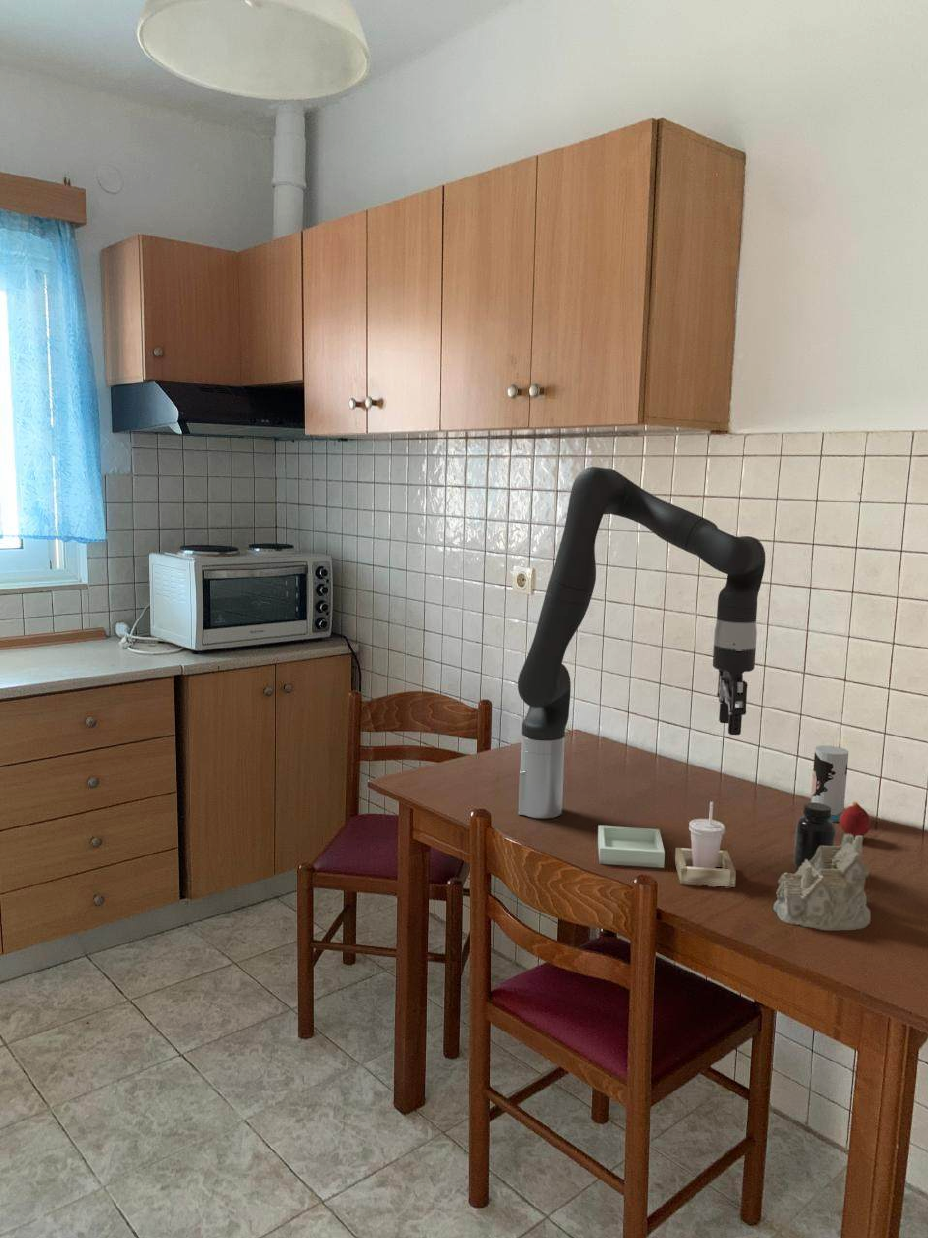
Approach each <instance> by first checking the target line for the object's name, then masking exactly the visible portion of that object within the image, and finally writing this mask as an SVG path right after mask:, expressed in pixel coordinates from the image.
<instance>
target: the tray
mask: <svg viewBox="0 0 928 1238" xmlns="http://www.w3.org/2000/svg"><path fill="white" fill-rule="evenodd" d="M597 828H598V829H597V850H598V861H599V864H601V865H616V866H631V867H644V868H645V867H646V868H647V867H648V868H660V869H661V868H663V869H665V862H666V860H665V859H666V858H665V856H666V852H665V847H664V844H663V839H662V835H661V830H660V829H659V828H649V827H648V828H645V827H632V826H631V827H630V826H614V825H613V826H612V825H598V827H597Z"/></svg>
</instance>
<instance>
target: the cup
mask: <svg viewBox="0 0 928 1238" xmlns="http://www.w3.org/2000/svg"><path fill="white" fill-rule="evenodd" d="M848 760H849V750H848V749H846V748H843V747H839V746H834V745H826V744H825V745H817V746H815V748H814V755H813V769H812V770H813V772H812V781H811V782H812V783H811V784H812V785H811V793H810V794H811V795H810V803H812V802H813V803H821V804H825V805H827V806H829V807H831V819H829V820H830V821H831V822H833V823H838V822H840V815H841V814H842V812H843V811H844V810H845V808H844V806H845V798H846V788H847V787H846V785H847V775H848V774H847V773H848V763H849V762H848Z"/></svg>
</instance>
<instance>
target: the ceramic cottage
mask: <svg viewBox="0 0 928 1238" xmlns="http://www.w3.org/2000/svg"><path fill="white" fill-rule="evenodd" d="M863 840H864V836H859V835H858V836H856V837H855V840H854V836H853V835H851V834H846V833H844V834H843V836H842V839H841V844H840V845H834V846H819V848H818V849H817V851H816V854H815V855H814V857H813V858H812V859H811V860H810V861H808V860H807V859H805V862H804V863H802V865H801V866H800V867H799V868H798V870H796V872H795V873H789V872H783V874H781V876H780V877H779V879H778V881H777V882H778V884H779V885H778V888H777V890H776V896H777V897H776V898H777V900H776V901H775V902H774V904H773V910H774V912H776V914H777V916H778V919H780V920H781V921H783V922H784V923H787V924H790V925H796V926H798V925H799V926H801V927H802V928H803V927H805V928H810V929H814V928H815V929H816V930H820V931H839V932H840V931H854V930H855V931H856V930H861V929H864V928H866V927H867V926H868V925H869V924H870V923H871V921H872V920H871V916H872V915H871V910H870V908H869V907H868V906H867V895H866V892H865V886H866V885H865V884H866V878H867V877H868V876H869V875H870V874H869V873H870V872H869V869H868V868H867V867H866V865H865V864H864V863H863V862H862V859H861V856H862V854H863V851H864V850H863Z"/></svg>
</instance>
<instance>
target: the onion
mask: <svg viewBox="0 0 928 1238" xmlns="http://www.w3.org/2000/svg"><path fill="white" fill-rule="evenodd" d="M839 825H840V828H841V830H842V831H843V832H844V834H851V835H853V836H854V840H855V837H856V836H858V835H859V836H862V837H864V836H866V834H868V832H869V831H870V828H871V819H870V816H869V813H868V812H867V811H866V810H865V809H864V807H862V806H861V805H860V804H859V803H858V802H857V801H856V800H855V801H852V805H850V806H848V807H846V808H844V811H843V812H842V814H841V815H840V821H839Z"/></svg>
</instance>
